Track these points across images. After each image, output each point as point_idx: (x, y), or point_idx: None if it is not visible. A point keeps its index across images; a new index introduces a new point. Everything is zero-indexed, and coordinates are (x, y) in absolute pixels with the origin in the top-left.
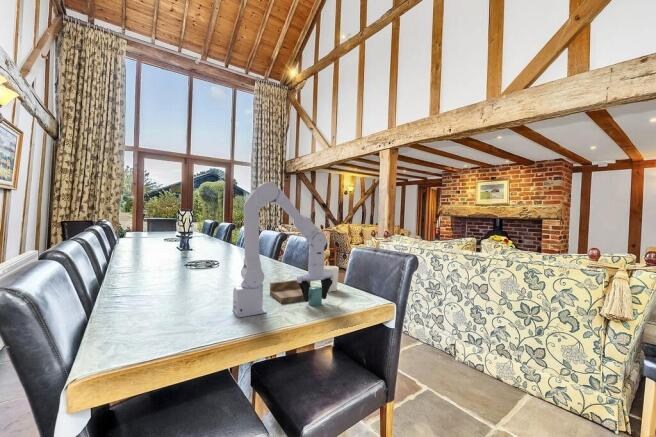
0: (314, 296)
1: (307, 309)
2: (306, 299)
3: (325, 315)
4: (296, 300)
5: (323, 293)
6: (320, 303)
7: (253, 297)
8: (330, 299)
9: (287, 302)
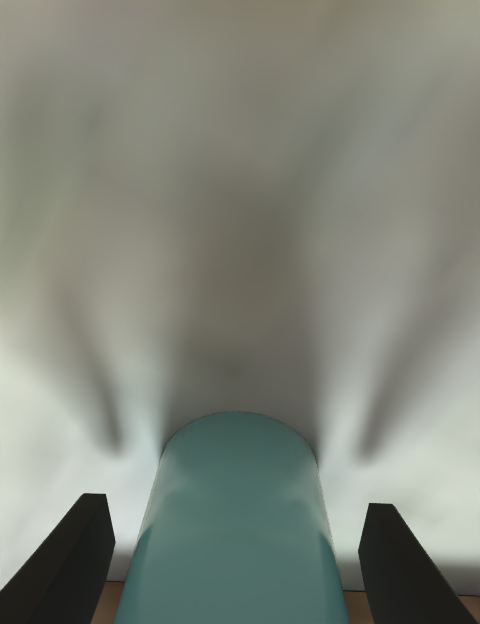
0: (304, 551)
1: (427, 379)
2: (414, 537)
3: (375, 22)
4: (362, 600)
5: (78, 594)
6: (199, 436)
7: None
8: (3, 510)
9: (460, 597)
